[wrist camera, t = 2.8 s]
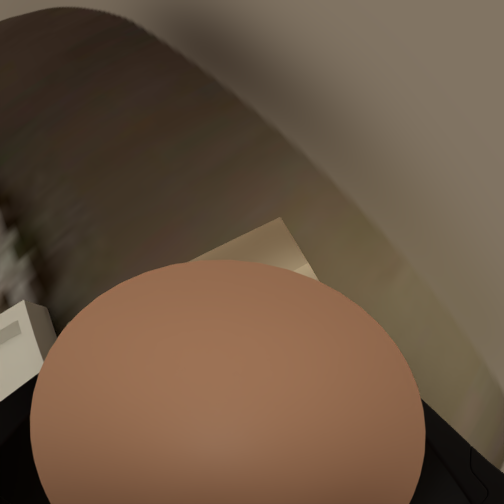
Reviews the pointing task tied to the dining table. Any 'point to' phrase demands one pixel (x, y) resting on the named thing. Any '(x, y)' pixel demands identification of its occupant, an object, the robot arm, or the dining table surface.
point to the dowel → (226, 395)
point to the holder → (264, 249)
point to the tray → (23, 344)
